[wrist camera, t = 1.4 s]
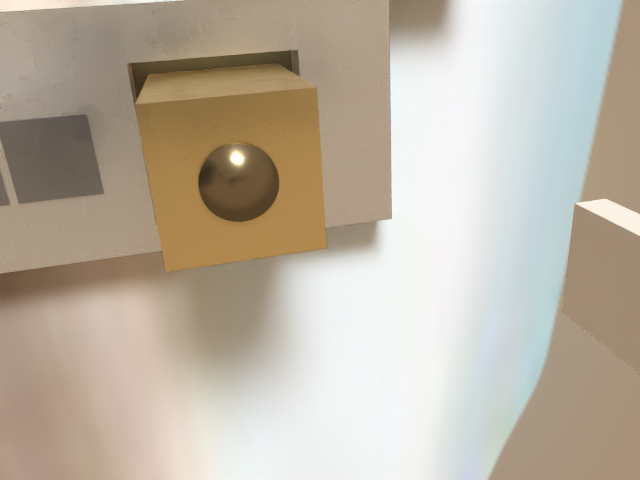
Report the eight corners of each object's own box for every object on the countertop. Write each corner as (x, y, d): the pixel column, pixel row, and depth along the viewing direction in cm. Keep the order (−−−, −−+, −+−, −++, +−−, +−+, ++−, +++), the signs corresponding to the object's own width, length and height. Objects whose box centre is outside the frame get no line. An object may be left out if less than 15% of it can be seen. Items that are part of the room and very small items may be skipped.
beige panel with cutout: (-58, 265, 28) (-75, 284, 26) (-143, 21, 23) (-172, 23, 21) (379, 206, 32) (392, 219, 30) (375, -12, 27) (389, -13, 25)
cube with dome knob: (169, 196, 29) (165, 274, 21) (148, 73, 27) (134, 105, 18) (287, 182, 30) (327, 250, 22) (276, 62, 28) (318, 87, 19)
